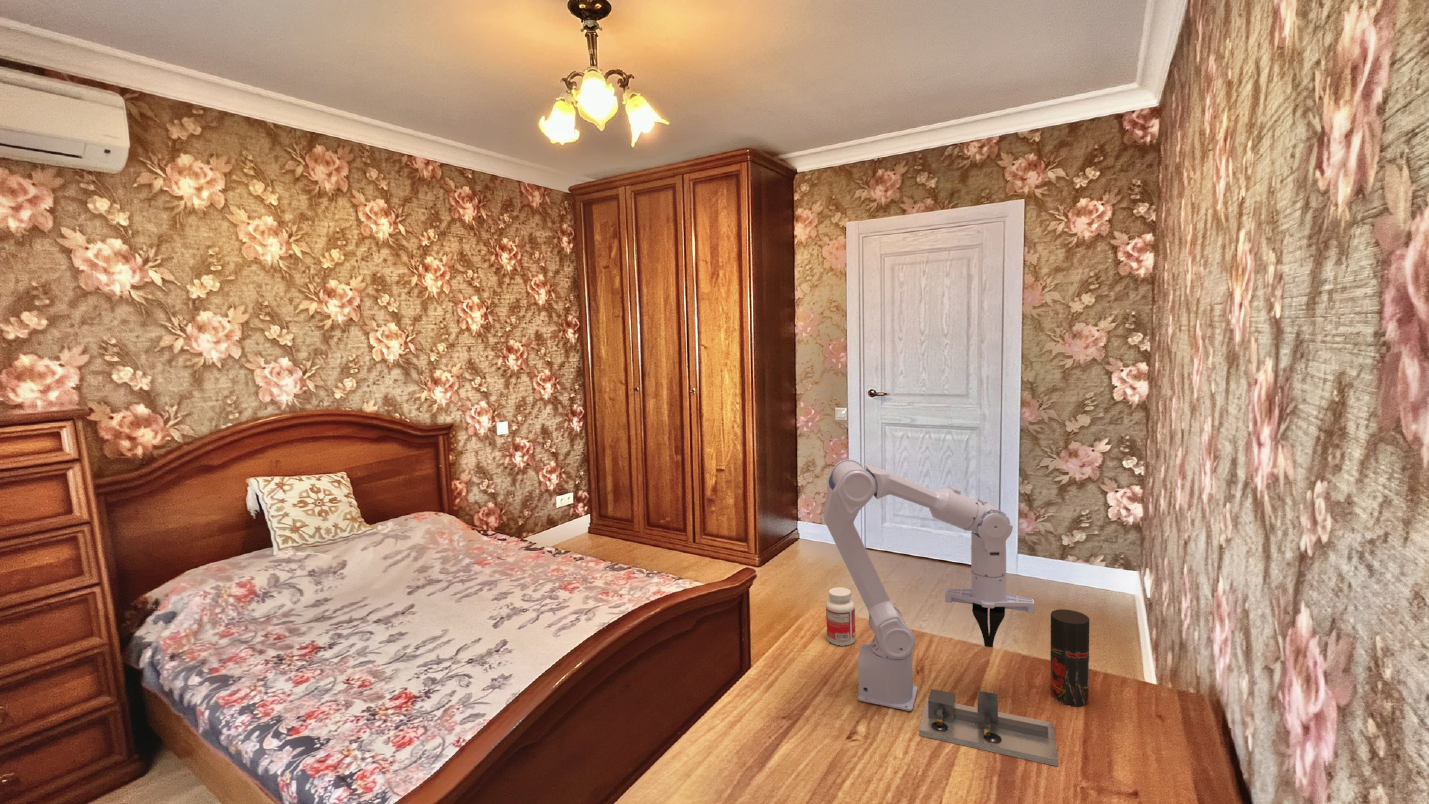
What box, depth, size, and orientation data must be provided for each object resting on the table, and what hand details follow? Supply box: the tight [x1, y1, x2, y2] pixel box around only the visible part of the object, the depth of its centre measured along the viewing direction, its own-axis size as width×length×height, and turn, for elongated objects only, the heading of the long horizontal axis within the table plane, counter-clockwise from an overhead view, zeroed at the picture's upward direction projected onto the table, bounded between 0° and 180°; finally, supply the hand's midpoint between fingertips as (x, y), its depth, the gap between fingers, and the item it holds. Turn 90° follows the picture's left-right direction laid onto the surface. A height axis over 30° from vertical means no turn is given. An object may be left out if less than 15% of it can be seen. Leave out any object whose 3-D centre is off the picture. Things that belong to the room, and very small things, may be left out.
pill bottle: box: [825, 586, 857, 647], centre depth 135 cm, size 6×6×11 cm
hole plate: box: [918, 697, 1059, 767], centre depth 102 cm, size 20×10×1 cm, turn 64°
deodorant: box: [1049, 608, 1090, 708], centre depth 110 cm, size 6×6×15 cm
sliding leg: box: [976, 690, 999, 736], centre depth 102 cm, size 3×6×4 cm, turn 154°
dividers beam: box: [928, 688, 1048, 738], centre depth 102 cm, size 18×6×3 cm, turn 64°
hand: (988, 644), depth 112 cm, fingers closed
